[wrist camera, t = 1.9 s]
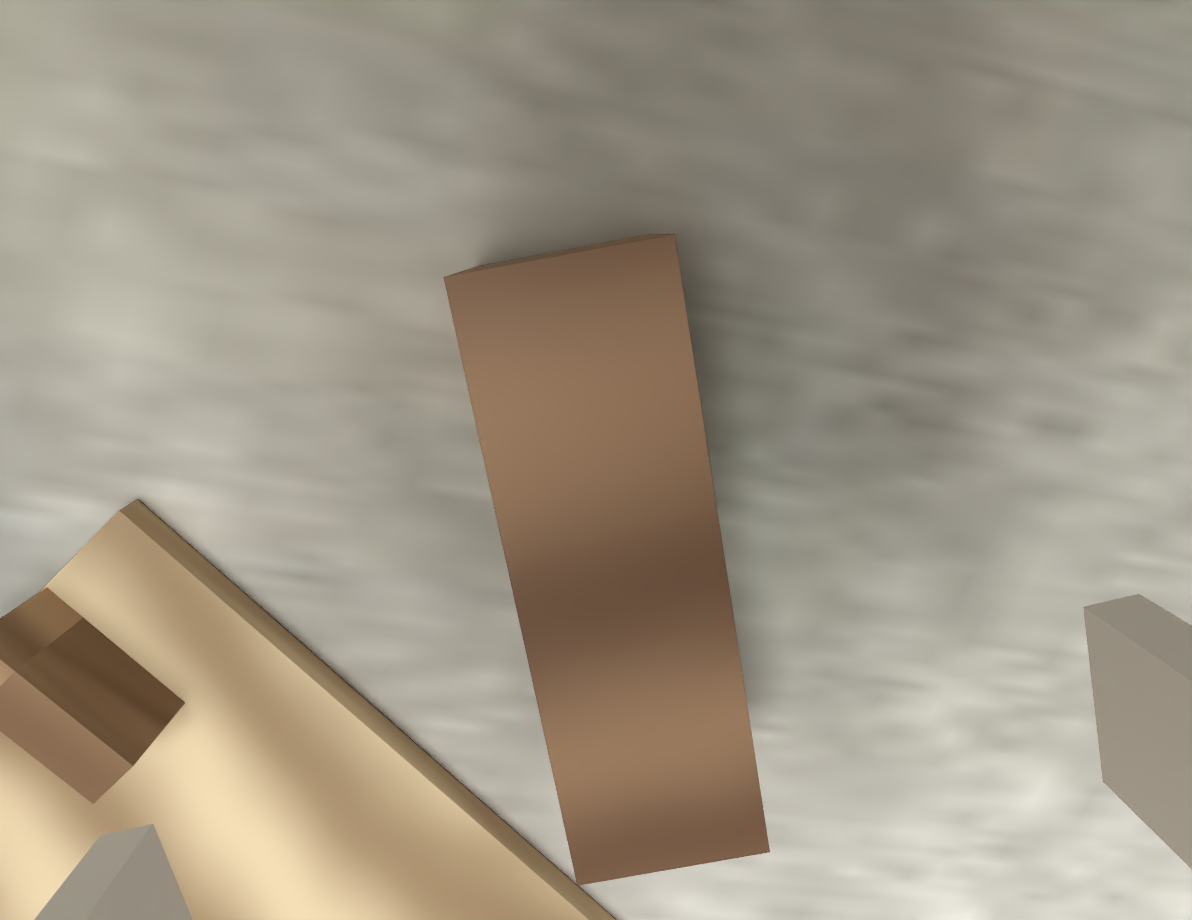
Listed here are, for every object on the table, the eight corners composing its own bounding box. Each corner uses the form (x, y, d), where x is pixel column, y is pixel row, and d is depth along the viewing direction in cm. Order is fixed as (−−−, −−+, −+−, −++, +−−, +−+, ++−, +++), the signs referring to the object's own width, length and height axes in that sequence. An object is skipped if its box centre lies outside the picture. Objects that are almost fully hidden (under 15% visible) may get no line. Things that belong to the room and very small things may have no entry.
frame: (473, 266, 23) (440, 277, 17) (650, 234, 23) (677, 233, 17) (574, 742, 26) (574, 886, 20) (727, 714, 26) (772, 851, 20)
